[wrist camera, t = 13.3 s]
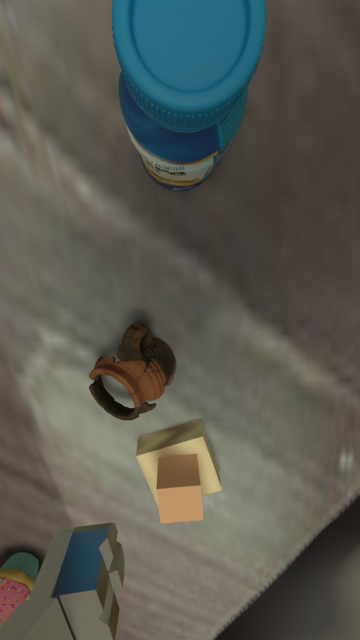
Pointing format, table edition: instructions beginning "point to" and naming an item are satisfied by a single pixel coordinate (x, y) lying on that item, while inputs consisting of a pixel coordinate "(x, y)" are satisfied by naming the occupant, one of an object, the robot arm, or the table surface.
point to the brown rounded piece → (135, 372)
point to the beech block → (179, 443)
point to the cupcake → (16, 582)
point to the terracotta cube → (179, 489)
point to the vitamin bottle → (185, 80)
